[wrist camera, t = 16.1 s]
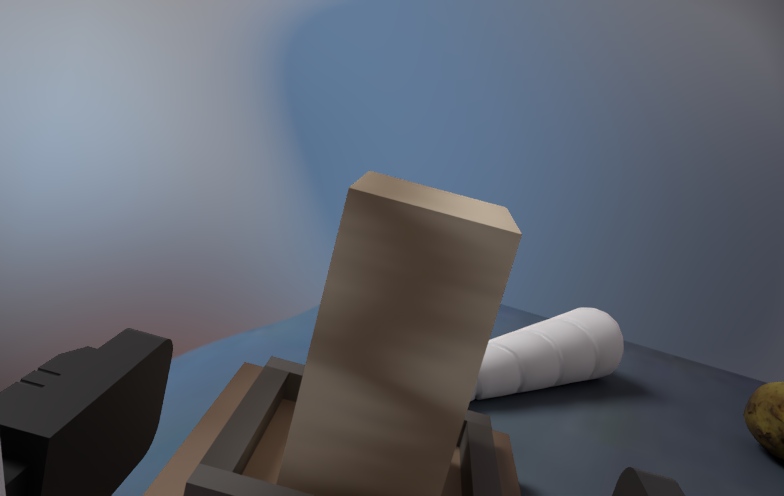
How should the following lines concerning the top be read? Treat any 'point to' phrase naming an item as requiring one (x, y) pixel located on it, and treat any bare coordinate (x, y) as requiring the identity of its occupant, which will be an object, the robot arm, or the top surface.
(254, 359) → the top surface
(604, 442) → the top surface
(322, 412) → the maple pillar
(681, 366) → the top surface
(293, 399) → the walnut base
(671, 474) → the top surface
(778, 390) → the potato
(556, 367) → the unicorn horn
